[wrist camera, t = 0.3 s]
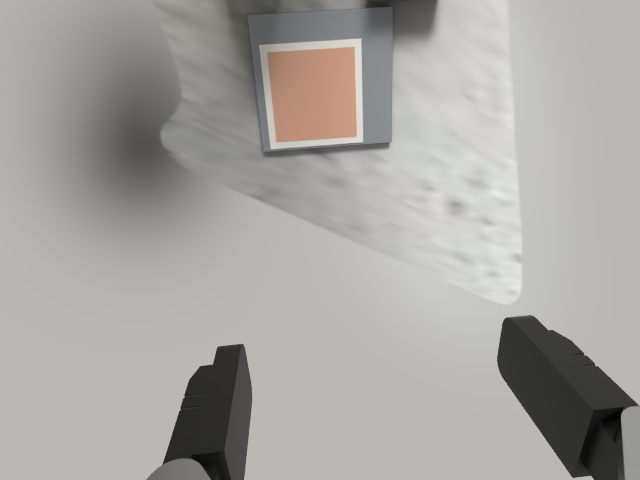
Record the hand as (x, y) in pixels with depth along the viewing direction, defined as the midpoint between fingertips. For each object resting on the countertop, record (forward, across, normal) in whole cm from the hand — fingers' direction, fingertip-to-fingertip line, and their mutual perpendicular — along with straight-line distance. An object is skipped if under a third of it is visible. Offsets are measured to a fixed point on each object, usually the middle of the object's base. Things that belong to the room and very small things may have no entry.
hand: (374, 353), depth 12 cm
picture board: (+28, -1, -7) cm, 28 cm away
